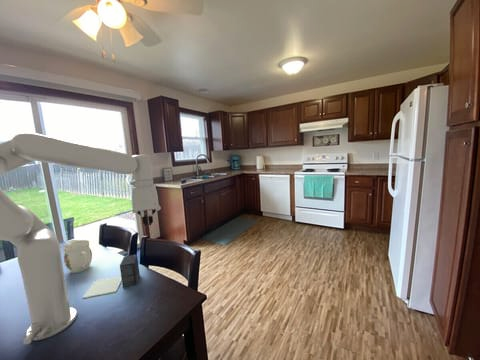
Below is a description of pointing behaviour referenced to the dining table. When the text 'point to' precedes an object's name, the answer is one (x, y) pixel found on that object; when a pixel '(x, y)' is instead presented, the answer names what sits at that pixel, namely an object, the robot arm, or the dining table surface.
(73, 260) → the pitcher
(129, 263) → the box
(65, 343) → the dining table surface
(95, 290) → the mat
